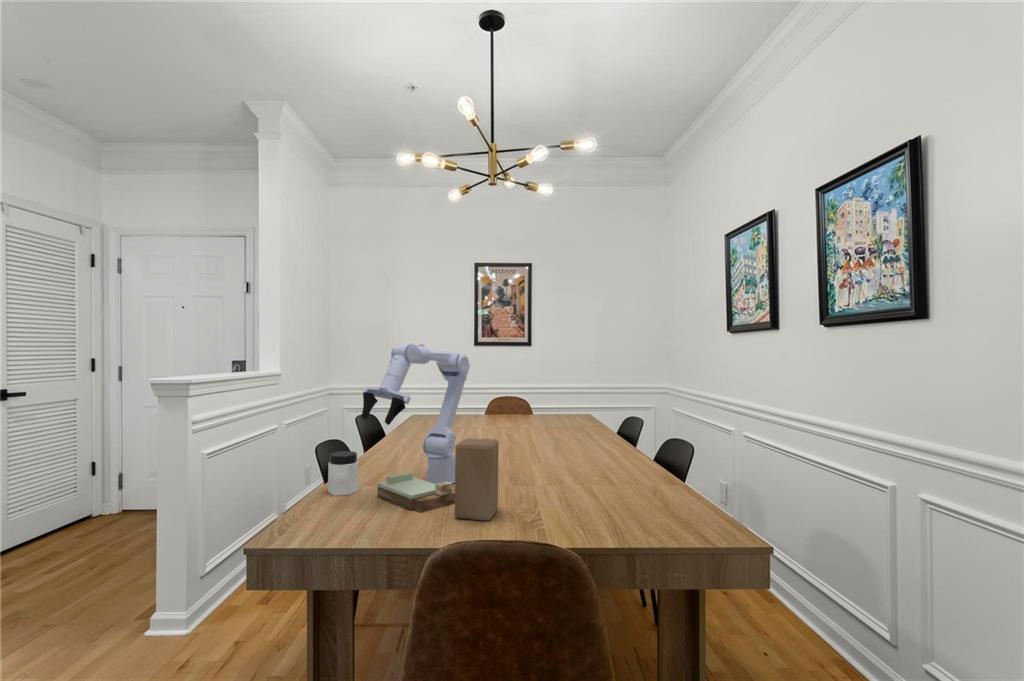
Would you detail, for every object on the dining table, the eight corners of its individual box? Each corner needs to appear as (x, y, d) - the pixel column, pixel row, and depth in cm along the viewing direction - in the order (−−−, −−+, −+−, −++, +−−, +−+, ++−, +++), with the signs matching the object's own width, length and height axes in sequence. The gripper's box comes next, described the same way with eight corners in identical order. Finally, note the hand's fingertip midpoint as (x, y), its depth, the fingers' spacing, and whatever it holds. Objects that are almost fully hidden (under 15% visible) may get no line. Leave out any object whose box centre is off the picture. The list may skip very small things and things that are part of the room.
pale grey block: (446, 491, 150) (446, 481, 150) (451, 492, 149) (451, 483, 149) (435, 493, 148) (435, 484, 148) (440, 495, 146) (440, 485, 146)
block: (489, 522, 133) (490, 445, 134) (453, 519, 135) (454, 443, 136) (498, 510, 143) (499, 439, 143) (464, 507, 145) (465, 437, 145)
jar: (325, 496, 155) (325, 456, 155) (330, 488, 163) (331, 451, 163) (355, 495, 156) (356, 456, 156) (359, 488, 164) (360, 450, 164)
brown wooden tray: (426, 485, 167) (426, 476, 168) (467, 499, 153) (467, 489, 153) (377, 496, 155) (377, 487, 155) (417, 513, 140) (417, 502, 140)
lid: (410, 479, 163) (410, 470, 163) (445, 490, 151) (445, 480, 151) (377, 486, 155) (377, 476, 155) (411, 499, 142) (411, 488, 142)
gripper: (367, 368, 151) (347, 410, 144) (410, 377, 147) (392, 420, 140) (376, 380, 157) (357, 420, 150) (418, 388, 153) (401, 430, 146)
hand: (375, 420), depth 146 cm, fingers open, 7 cm apart
